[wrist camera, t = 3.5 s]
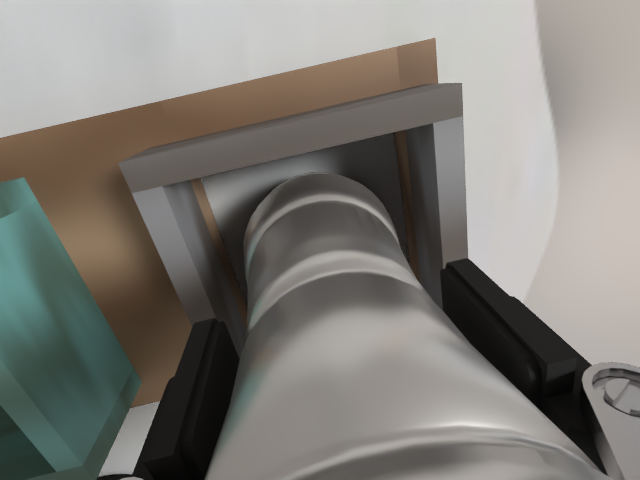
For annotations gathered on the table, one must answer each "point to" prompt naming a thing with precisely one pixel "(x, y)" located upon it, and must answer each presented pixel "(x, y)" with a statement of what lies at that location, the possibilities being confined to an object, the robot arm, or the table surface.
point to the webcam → (114, 477)
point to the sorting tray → (181, 235)
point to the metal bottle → (365, 361)
